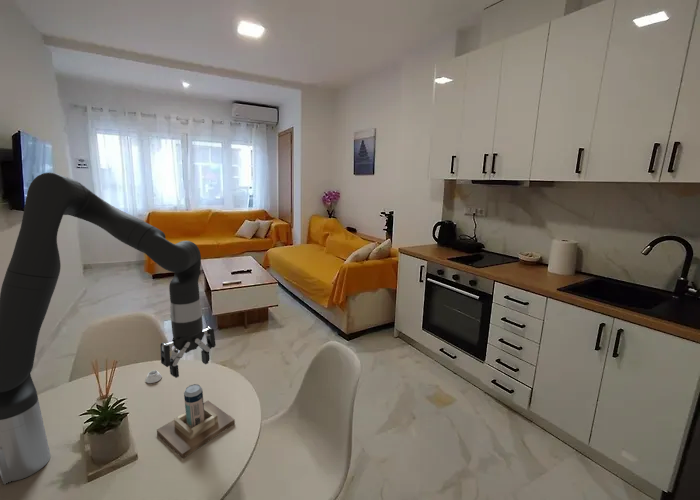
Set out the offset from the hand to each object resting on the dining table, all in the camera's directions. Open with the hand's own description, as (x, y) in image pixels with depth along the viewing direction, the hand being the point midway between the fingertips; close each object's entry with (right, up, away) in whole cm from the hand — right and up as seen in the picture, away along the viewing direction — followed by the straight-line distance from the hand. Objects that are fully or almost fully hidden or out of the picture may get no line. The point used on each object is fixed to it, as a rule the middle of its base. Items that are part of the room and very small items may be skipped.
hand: (191, 369), depth 95 cm
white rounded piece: (-26, -14, +27) cm, 40 cm away
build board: (-1, -19, +5) cm, 20 cm away
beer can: (-1, -18, +5) cm, 19 cm away
